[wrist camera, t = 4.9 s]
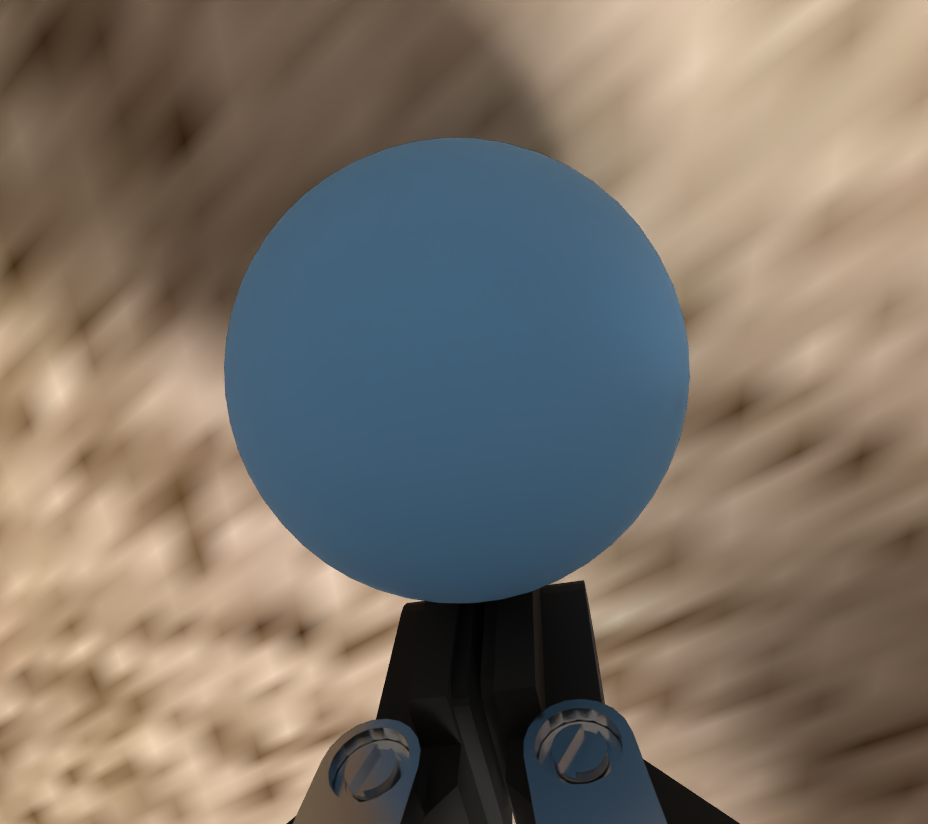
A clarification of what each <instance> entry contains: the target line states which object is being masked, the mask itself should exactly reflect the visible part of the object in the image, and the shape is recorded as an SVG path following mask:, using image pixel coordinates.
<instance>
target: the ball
mask: <svg viewBox="0 0 928 824" xmlns="http://www.w3.org/2000/svg"><path fill="white" fill-rule="evenodd" d="M224 373H225V395H226V401H227V407H228V413H229V419H230V424H231V427H232V431H233V434H234V438H235V441H236V445H237V448H238V451H239V453H240V455H241V458H242V460H243V462H244V465H245V467H246V469H247V472H248V474H249V476H250V478H251V479H252V481H253V483H254V484H255V486H256V488H257V490H258V491H259V493H260V495H261V496H262V498H263V500H264V501H265V502H266V503H267V505H268V506H269V507H270V509H271V510H272V511H273V513H274V514H275V515H276V517H277V518H278V519H279V521H280V522H281V523H282V524H283V525H284V526H285V527H286V528H287V529H288V530H289V531H290V532H291V533H292V534H293V535H294V536H295V537H296V539H297V540H298V541H299V542H300V543H301V544H302V545H303V546H305V547H306V548H307V549H308V550H310V551H311V552H312V553H314V554H315V555H316V556H317V557H319V558H320V559H321V560H322V561H324V562H325V563H326V564H328V565H330V566H331V567H333V568H335V569H336V570H338V571H340V572H341V573H343V574H345V575H346V576H348V577H350V578H352V579H354V580H356V581H359V582H361V583H363V584H366V585H368V586H370V587H373V588H375V589H377V590H381V591H384V592H388V593H391V594H395V595H398V596H402V597H405V598H410V599H417V600H424V601H430V602H437V603H478V602H486V601H494V600H501V599H505V598H509V597H513V596H517V595H520V594H524V593H528V592H531V591H534V590H536V589H538V588H541V587H543V586H546V585H548V584H551V583H553V582H555V581H558V580H560V579H561V578H563V577H565V576H566V575H568V574H570V573H572V572H573V571H575V570H577V569H579V568H580V567H582V566H584V565H585V564H587V563H589V562H590V561H591V560H592V559H594V558H595V557H596V556H598V555H599V554H600V553H601V552H603V551H604V550H605V549H607V548H608V547H609V546H610V545H612V544H613V543H614V542H615V541H616V540H617V539H618V538H619V537H620V536H621V535H622V534H623V533H624V532H625V531H626V530H627V529H628V528H629V527H630V526H631V525H632V524H633V522H634V521H635V520H636V519H637V517H638V516H639V515H640V513H641V512H642V511H643V509H644V508H645V507H646V505H647V504H648V503H649V501H650V500H651V499H652V497H653V496H654V494H655V492H656V490H657V488H658V486H659V485H660V483H661V481H662V479H663V477H664V476H665V474H666V472H667V470H668V468H669V465H670V463H671V460H672V458H673V455H674V452H675V450H676V447H677V445H678V442H679V439H680V435H681V431H682V426H683V422H684V418H685V414H686V409H687V400H688V390H689V379H690V373H689V349H688V341H687V335H686V330H685V324H684V319H683V314H682V311H681V308H680V304H679V301H678V298H677V295H676V292H675V289H674V286H673V284H672V281H671V279H670V277H669V275H668V273H667V271H666V269H665V267H664V265H663V263H662V261H661V259H660V257H659V255H658V253H657V252H656V250H655V249H654V247H653V246H652V244H651V243H650V241H649V240H648V238H647V237H646V235H645V234H644V232H643V231H642V229H641V228H640V226H639V225H638V224H637V223H636V222H635V221H634V220H633V218H632V217H631V216H630V215H629V214H628V213H627V212H626V211H625V210H624V208H623V207H622V206H621V205H620V204H619V203H618V202H617V201H616V200H615V199H613V198H612V197H611V196H610V195H609V194H608V193H606V192H605V191H604V190H603V189H602V188H600V187H599V186H598V185H597V184H596V183H594V182H593V181H591V180H590V179H588V178H587V177H585V176H583V175H582V174H580V173H579V172H577V171H575V170H574V169H572V168H571V167H569V166H567V165H565V164H563V163H561V162H559V161H556V160H554V159H552V158H550V157H547V156H545V155H543V154H541V153H538V152H535V151H531V150H528V149H524V148H521V147H518V146H514V145H511V144H507V143H504V142H497V141H490V140H484V139H477V138H438V139H430V140H421V141H414V142H410V143H406V144H402V145H399V146H395V147H391V148H387V149H384V150H382V151H379V152H377V153H374V154H372V155H369V156H367V157H364V158H362V159H360V160H357V161H355V162H353V163H351V164H349V165H348V166H346V167H344V168H342V169H340V170H339V171H337V172H335V173H333V174H332V175H330V176H328V177H327V178H326V179H324V180H323V181H322V182H320V183H319V184H317V185H316V186H315V187H313V188H312V189H311V190H309V191H308V192H307V193H306V194H304V195H303V196H302V197H301V198H300V199H299V200H298V201H297V202H296V203H295V204H294V205H293V206H292V207H291V208H290V209H289V210H288V211H287V212H286V213H285V214H284V215H283V216H282V218H281V219H280V220H279V221H278V223H277V224H276V225H275V226H274V228H273V229H272V230H271V231H270V232H269V234H268V235H267V237H266V238H265V240H264V241H263V243H262V245H261V246H260V248H259V249H258V251H257V253H256V254H255V256H254V257H253V259H252V261H251V263H250V265H249V268H248V270H247V272H246V274H245V276H244V278H243V280H242V283H241V285H240V288H239V291H238V294H237V297H236V300H235V303H234V306H233V309H232V313H231V318H230V323H229V328H228V333H227V338H226V350H225V363H224Z"/></svg>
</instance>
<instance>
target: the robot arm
mask: <svg viewBox="0 0 928 824" xmlns="http://www.w3.org/2000/svg"><path fill="white" fill-rule="evenodd" d="M512 812H513V815H514V819H515V822H516V824H739V823H738V822H736V821H735V820H733V819H732V818H730V817H729V816H728V815H726V814H725V813H723V812H722V811H720V810H719V809H717V808H716V807H714V806H713V805H711V804H710V803H708V802H707V801H705V800H704V799H702V798H701V797H699V796H698V795H696V794H695V793H693V792H692V791H690V790H689V789H687V788H686V787H684V786H683V785H681V784H680V783H678V782H677V781H675V780H674V779H672V778H671V777H669V776H668V775H666V774H665V773H663V772H662V771H660V770H659V769H657V768H656V767H654V766H653V765H651V764H650V763H648V762H647V761H645V760H644V759H643V758H642V755H641V753H640V750H639V747H638V745H637V742H636V739H635V737H634V734H633V732H632V730H631V728H630V727H629V725H628V723H627V721H626V720H625V718H624V717H623V716H621V715H620V714H619V713H618V712H617V711H616V710H614V709H613V708H612V707H609V706H607V705H605V702H604V695H603V689H602V682H601V676H600V669H599V663H598V656H597V650H596V644H595V638H594V632H593V626H592V621H591V615H590V609H589V604H588V598H587V593H586V588H585V583H584V580H583V581H575V582H567V583H560V584H552V585H546V586H543V587H541V588H538V589H536V590H534V591H531V592H528V593H524V594H520V595H517V596H513V597H509V598H505V599H501V600H494V601H486V602H478V603H437V602H430V601H420V602H412V603H406V604H405V605H404V607H403V610H402V613H401V617H400V621H399V625H398V629H397V634H396V638H395V642H394V646H393V650H392V655H391V659H390V663H389V667H388V671H387V676H386V680H385V684H384V688H383V692H382V697H381V701H380V705H379V709H378V713H377V717H376V720H371V721H368V722H365V723H362V724H360V725H357V726H355V727H354V728H352V729H350V730H349V731H347V732H346V733H344V734H343V735H342V736H341V737H340V738H339V739H338V740H337V741H336V742H335V743H334V744H333V745H332V746H331V747H330V748H329V750H328V751H327V753H326V755H325V756H324V758H323V759H322V761H321V763H320V765H319V768H318V770H317V772H316V774H315V776H314V778H313V781H312V783H311V785H310V787H309V789H308V791H307V794H306V796H305V798H304V800H303V802H302V804H301V807H300V809H299V811H298V813H297V815H296V816H295V817H294V818H293V819H292V820H291V821H289V822H288V823H287V824H512Z"/></svg>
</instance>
